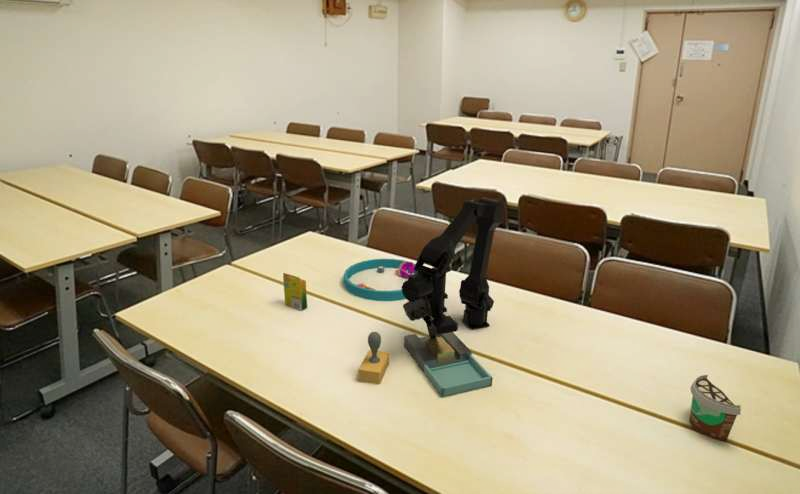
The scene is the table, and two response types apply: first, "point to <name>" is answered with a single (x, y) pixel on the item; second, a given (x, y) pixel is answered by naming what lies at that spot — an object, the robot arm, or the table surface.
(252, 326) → the table surface
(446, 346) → the brass chip
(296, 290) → the crayon box
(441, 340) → the brass chip
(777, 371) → the table surface
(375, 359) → the rubber stamp
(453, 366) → the tray
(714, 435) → the food container
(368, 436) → the table surface
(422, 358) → the slotted plate
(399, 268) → the teal ring
